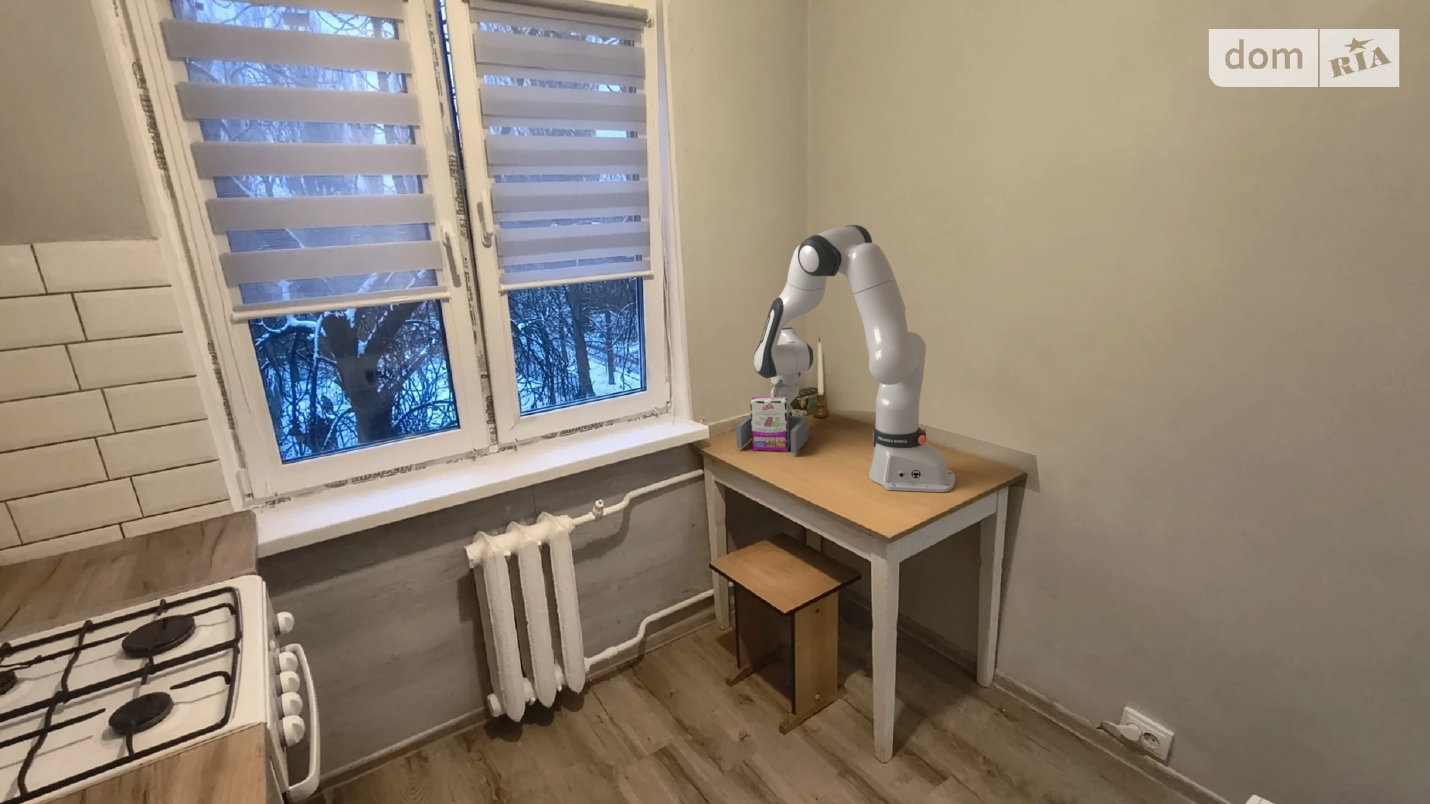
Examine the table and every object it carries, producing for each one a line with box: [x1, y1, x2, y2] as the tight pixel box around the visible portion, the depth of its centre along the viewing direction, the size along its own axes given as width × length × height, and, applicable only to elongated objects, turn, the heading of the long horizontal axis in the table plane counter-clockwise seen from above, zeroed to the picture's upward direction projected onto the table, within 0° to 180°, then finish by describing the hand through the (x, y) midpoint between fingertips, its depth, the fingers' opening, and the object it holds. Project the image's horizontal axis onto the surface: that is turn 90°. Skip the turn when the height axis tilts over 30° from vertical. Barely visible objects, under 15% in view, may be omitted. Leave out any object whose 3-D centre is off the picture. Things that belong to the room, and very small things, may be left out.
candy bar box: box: [750, 396, 790, 453], centre depth 197 cm, size 11×5×16 cm, turn 77°
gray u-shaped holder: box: [735, 413, 809, 454], centre depth 200 cm, size 19×14×8 cm
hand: (785, 416), depth 211 cm, fingers closed
